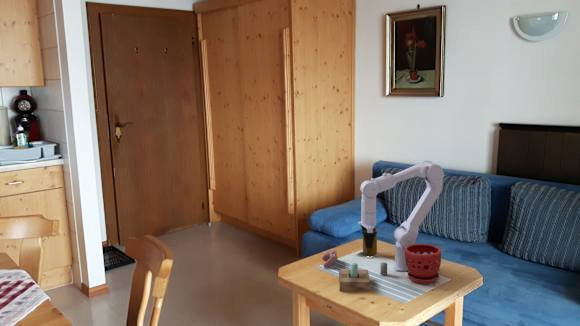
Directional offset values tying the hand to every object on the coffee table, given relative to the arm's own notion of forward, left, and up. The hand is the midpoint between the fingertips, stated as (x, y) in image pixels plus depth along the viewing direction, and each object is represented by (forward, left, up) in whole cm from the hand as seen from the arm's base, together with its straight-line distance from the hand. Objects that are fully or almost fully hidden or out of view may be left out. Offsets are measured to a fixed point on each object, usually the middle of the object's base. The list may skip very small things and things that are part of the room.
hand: (368, 244), depth 191 cm
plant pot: (-20, +9, -11) cm, 24 cm away
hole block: (+6, +14, -10) cm, 19 cm away
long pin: (+6, +14, -10) cm, 19 cm away
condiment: (-2, -17, -11) cm, 20 cm away
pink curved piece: (+15, -7, -11) cm, 20 cm away
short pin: (-6, +5, -10) cm, 13 cm away
